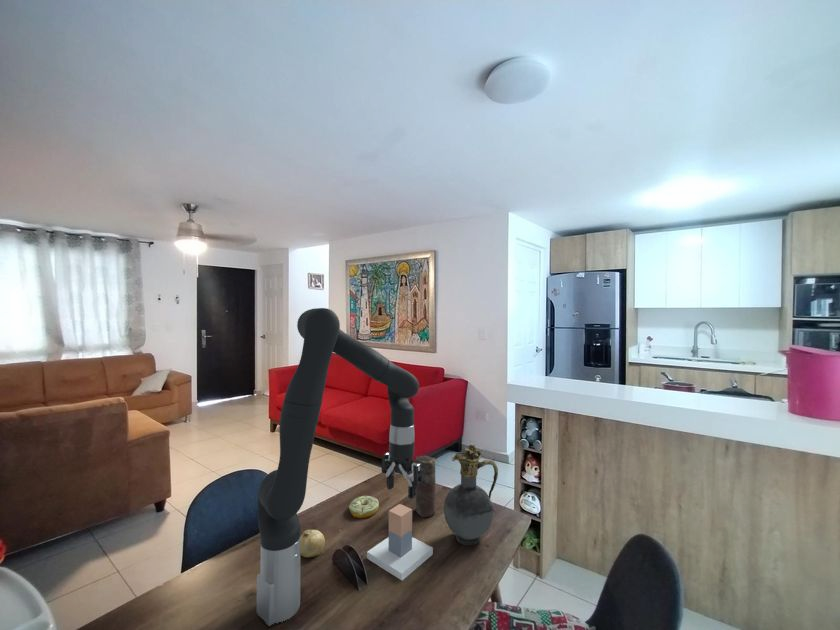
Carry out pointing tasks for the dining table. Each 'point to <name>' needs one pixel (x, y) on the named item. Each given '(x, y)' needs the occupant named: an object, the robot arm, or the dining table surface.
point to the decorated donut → (364, 506)
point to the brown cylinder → (426, 487)
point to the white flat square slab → (397, 564)
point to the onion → (311, 543)
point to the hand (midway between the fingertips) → (400, 493)
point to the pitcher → (469, 500)
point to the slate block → (400, 543)
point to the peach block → (400, 520)
